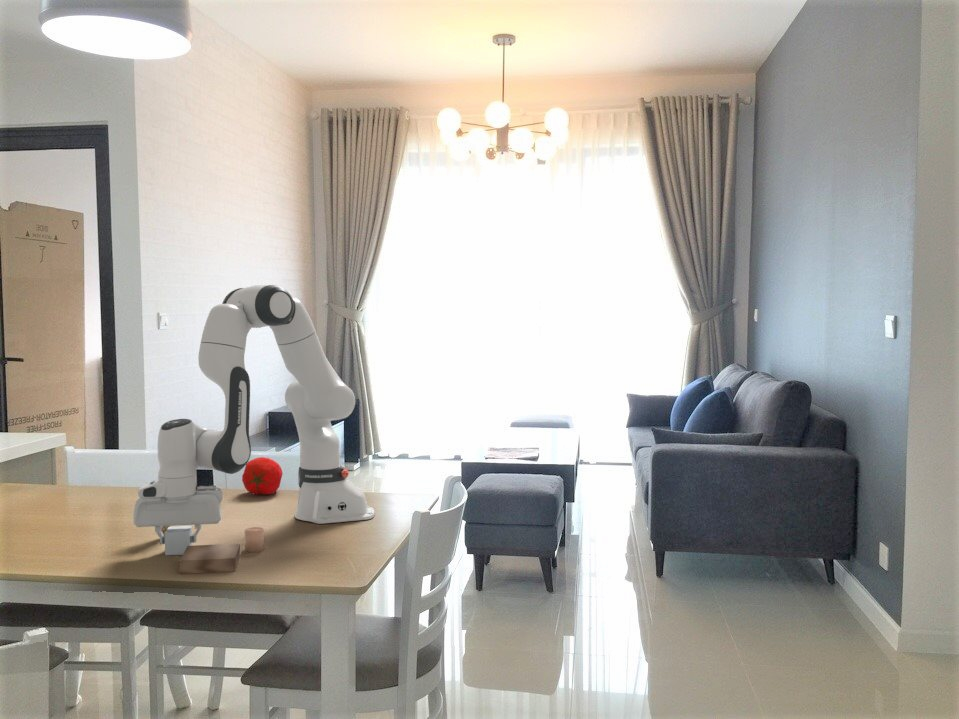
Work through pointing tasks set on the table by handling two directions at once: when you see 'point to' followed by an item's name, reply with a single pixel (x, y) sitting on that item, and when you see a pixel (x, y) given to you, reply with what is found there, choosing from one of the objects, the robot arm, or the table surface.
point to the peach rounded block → (254, 539)
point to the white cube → (177, 539)
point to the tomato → (262, 476)
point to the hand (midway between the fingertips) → (178, 542)
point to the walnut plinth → (210, 558)
